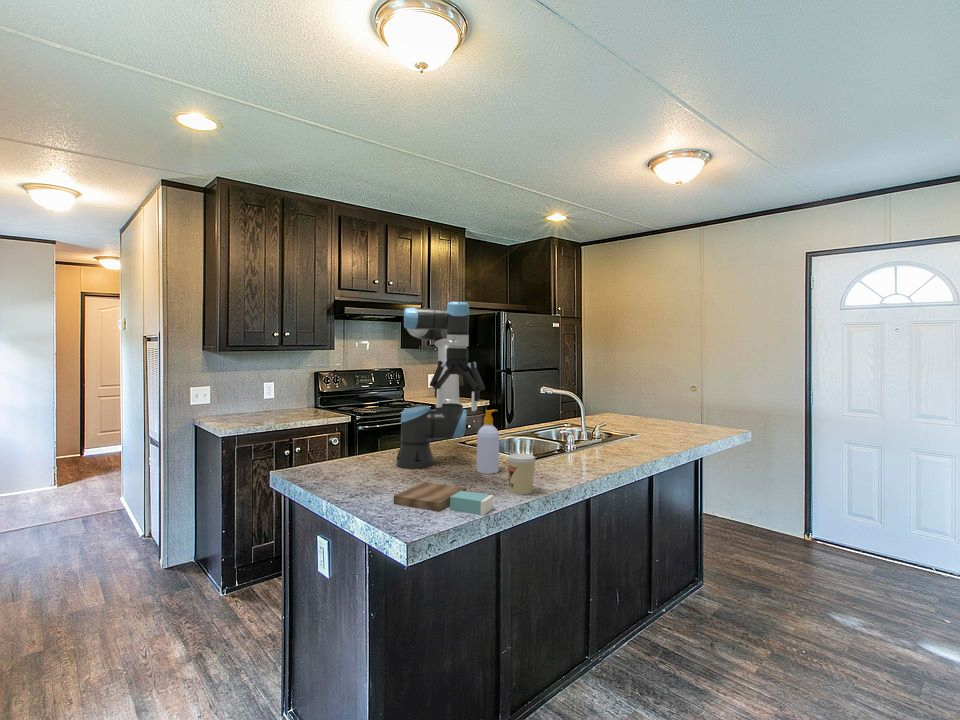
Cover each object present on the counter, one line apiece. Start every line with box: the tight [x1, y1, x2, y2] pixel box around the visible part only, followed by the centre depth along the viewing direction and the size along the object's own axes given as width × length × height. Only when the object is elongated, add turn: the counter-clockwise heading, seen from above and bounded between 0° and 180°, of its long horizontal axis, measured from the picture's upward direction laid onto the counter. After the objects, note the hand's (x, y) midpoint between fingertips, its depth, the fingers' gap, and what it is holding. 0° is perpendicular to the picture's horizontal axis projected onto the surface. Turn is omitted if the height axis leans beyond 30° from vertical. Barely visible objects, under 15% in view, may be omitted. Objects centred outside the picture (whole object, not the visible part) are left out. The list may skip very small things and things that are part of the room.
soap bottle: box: [476, 409, 500, 475], centre depth 201 cm, size 9×9×24 cm
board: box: [393, 481, 467, 512], centre depth 164 cm, size 16×18×2 cm
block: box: [449, 490, 495, 516], centre depth 155 cm, size 4×7×11 cm
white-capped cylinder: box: [507, 452, 536, 496], centre depth 174 cm, size 9×9×12 cm
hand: (456, 408), depth 178 cm, fingers open, 13 cm apart
